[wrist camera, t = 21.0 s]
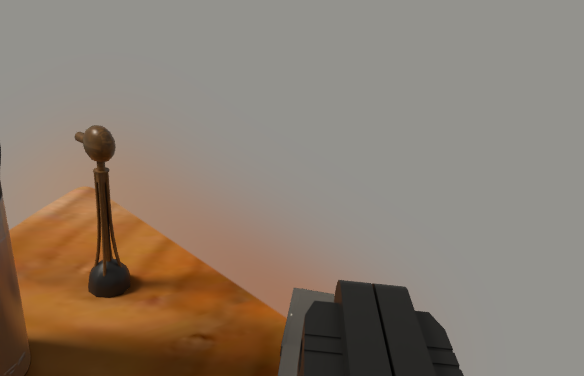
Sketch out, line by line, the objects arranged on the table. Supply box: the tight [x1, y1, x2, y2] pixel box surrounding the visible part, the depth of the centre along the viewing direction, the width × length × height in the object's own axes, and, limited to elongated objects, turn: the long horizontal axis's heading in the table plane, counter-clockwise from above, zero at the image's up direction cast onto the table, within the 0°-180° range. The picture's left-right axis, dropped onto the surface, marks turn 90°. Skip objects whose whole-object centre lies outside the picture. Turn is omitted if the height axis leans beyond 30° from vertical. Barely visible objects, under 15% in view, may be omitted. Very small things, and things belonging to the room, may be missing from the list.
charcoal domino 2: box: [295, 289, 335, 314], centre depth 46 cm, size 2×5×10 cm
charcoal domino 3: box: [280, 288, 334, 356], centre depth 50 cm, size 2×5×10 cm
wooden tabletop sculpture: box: [75, 125, 130, 298], centre depth 50 cm, size 6×5×20 cm
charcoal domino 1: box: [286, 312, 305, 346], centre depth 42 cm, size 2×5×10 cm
